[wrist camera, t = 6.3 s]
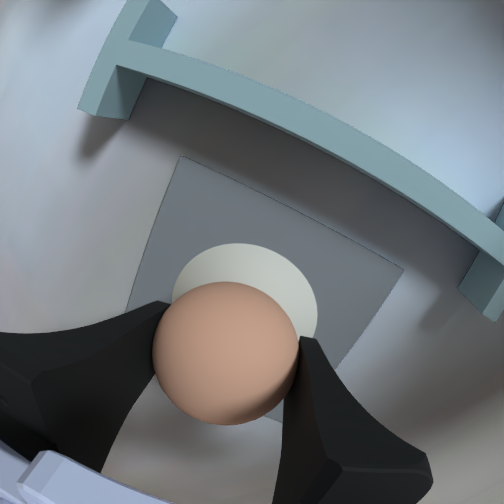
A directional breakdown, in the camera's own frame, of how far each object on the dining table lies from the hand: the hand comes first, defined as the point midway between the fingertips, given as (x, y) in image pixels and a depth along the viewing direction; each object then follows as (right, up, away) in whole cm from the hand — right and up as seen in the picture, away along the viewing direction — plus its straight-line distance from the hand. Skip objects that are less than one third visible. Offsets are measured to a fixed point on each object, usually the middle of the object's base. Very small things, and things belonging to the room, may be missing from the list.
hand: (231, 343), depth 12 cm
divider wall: (+4, +7, 0) cm, 8 cm away
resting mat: (0, +1, +2) cm, 2 cm away
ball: (0, +1, +1) cm, 2 cm away
